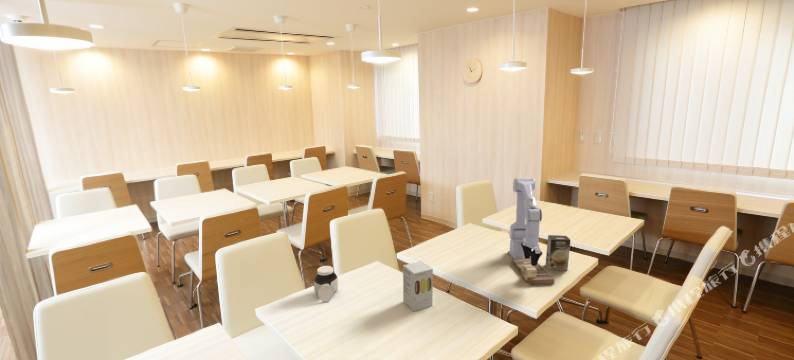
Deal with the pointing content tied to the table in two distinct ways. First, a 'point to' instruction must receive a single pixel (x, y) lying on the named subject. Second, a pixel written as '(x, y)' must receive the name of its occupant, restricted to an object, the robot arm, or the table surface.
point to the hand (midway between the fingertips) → (530, 261)
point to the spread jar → (325, 283)
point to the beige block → (529, 271)
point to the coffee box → (557, 252)
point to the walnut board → (540, 278)
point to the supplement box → (417, 285)
